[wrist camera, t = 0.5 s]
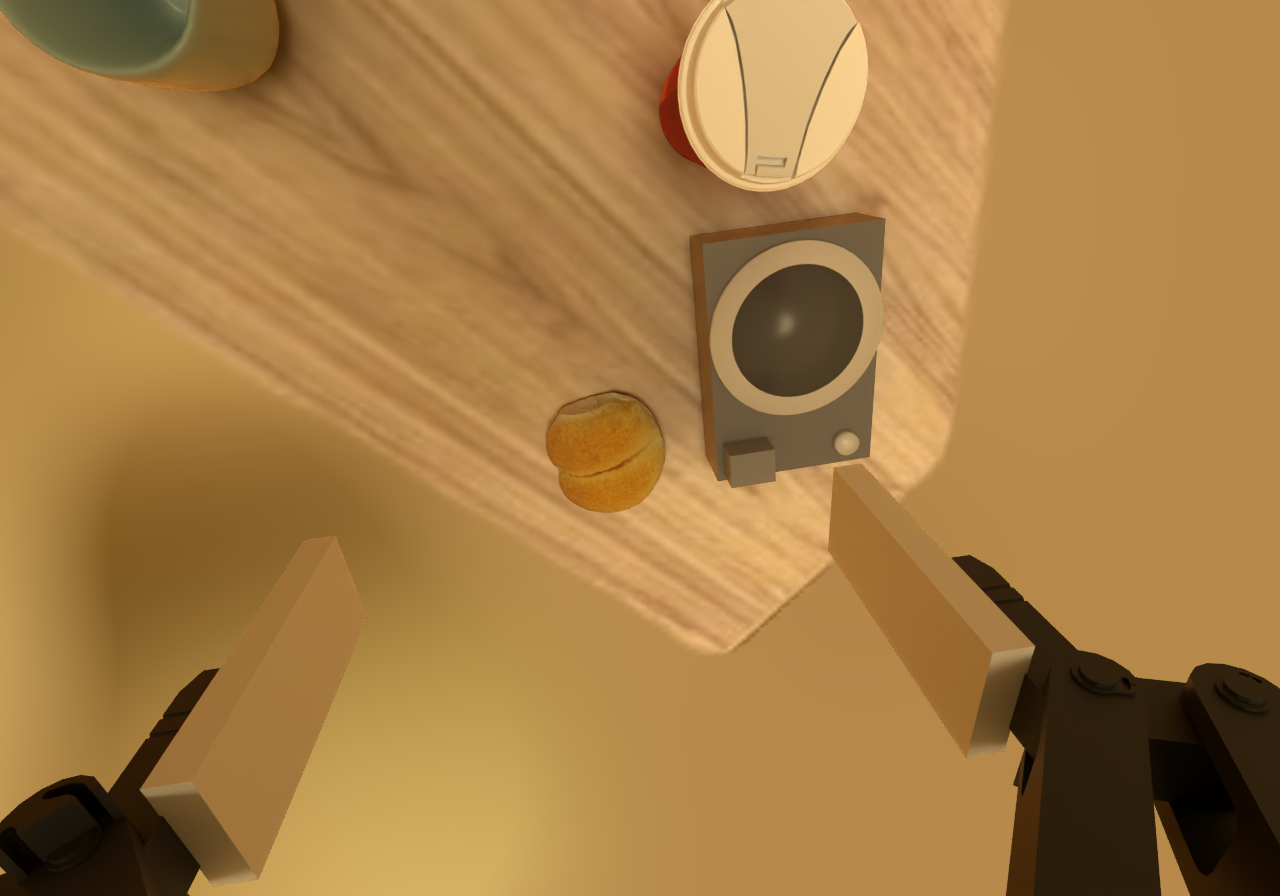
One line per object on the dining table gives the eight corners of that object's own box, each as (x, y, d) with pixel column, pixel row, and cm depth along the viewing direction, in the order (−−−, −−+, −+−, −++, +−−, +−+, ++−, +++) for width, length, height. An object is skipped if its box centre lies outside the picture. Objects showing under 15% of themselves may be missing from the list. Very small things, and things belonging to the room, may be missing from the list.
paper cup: (758, 184, 37) (856, 198, 25) (636, 176, 36) (675, 187, 24) (778, 34, 34) (904, -37, 21) (645, 21, 33) (694, -62, 20)
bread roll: (573, 511, 46) (574, 541, 43) (534, 410, 42) (531, 434, 39) (675, 481, 46) (684, 509, 43) (645, 377, 42) (652, 398, 39)
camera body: (689, 235, 38) (710, 248, 33) (855, 212, 39) (902, 222, 33) (705, 455, 45) (724, 495, 40) (845, 433, 46) (883, 470, 40)
